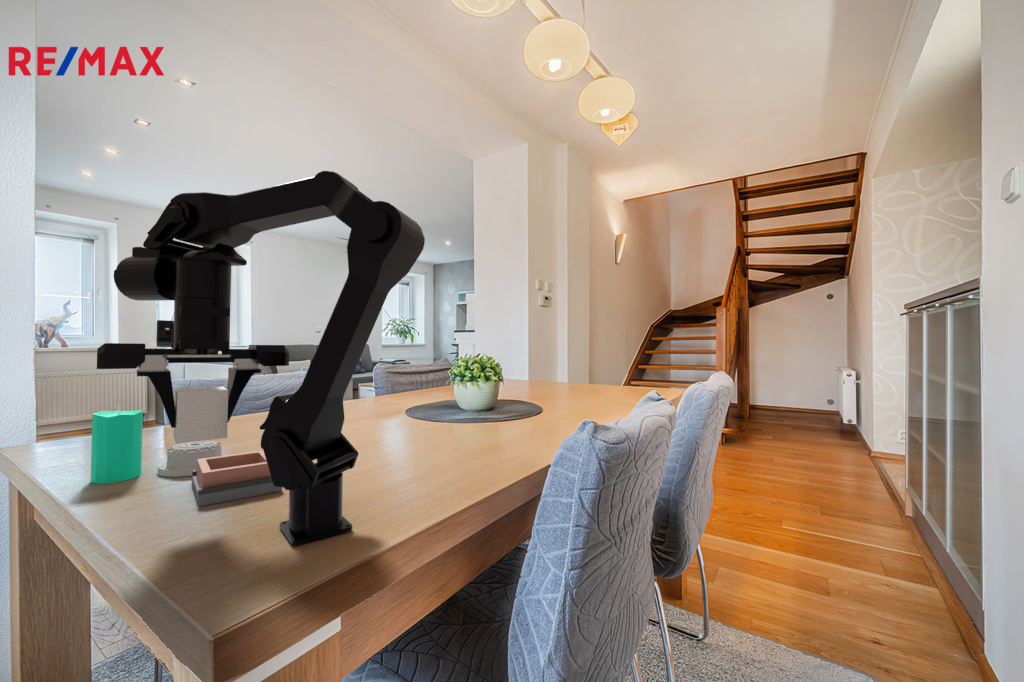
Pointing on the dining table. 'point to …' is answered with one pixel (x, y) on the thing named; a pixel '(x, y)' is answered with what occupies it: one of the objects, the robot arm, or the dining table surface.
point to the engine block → (200, 414)
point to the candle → (116, 445)
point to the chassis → (232, 478)
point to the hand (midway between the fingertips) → (200, 424)
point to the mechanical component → (187, 457)
